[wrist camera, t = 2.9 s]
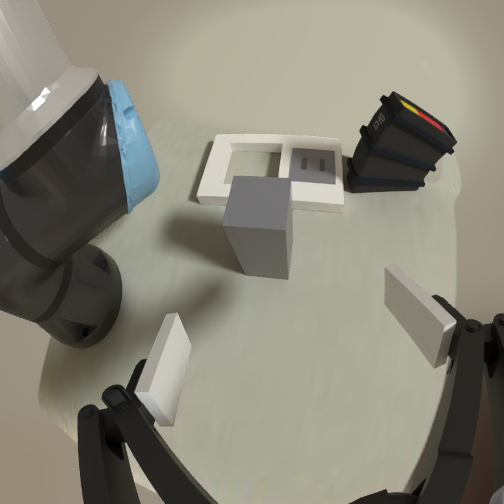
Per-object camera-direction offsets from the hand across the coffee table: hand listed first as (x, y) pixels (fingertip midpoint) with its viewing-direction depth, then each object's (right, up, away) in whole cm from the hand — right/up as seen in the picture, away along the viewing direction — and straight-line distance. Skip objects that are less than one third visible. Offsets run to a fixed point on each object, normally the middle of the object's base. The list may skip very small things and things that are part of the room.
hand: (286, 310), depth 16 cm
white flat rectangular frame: (+1, +15, +22) cm, 26 cm away
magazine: (+18, +13, +19) cm, 29 cm away
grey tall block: (0, +3, +17) cm, 17 cm away
